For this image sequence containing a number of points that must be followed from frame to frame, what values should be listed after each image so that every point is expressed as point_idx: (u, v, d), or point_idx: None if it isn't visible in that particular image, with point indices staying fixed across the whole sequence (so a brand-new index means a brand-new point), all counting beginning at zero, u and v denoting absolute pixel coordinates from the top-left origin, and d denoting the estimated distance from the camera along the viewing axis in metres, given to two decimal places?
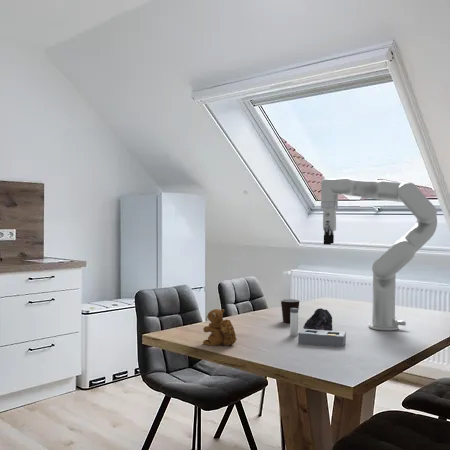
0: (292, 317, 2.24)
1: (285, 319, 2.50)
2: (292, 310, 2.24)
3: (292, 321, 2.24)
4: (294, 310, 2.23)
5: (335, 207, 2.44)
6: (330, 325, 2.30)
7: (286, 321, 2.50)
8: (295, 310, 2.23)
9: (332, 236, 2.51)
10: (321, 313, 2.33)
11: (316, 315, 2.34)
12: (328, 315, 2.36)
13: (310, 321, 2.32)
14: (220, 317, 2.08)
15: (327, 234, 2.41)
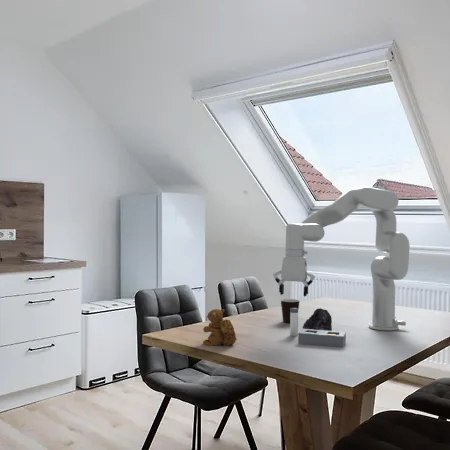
0: (292, 317, 2.24)
1: (285, 319, 2.50)
2: (292, 310, 2.24)
3: (292, 321, 2.24)
4: (294, 310, 2.23)
5: None
6: (329, 325, 2.30)
7: (286, 321, 2.50)
8: (295, 310, 2.23)
9: (283, 286, 2.27)
10: (320, 313, 2.33)
11: (315, 315, 2.34)
12: (327, 315, 2.36)
13: (309, 321, 2.32)
14: (220, 317, 2.08)
15: None
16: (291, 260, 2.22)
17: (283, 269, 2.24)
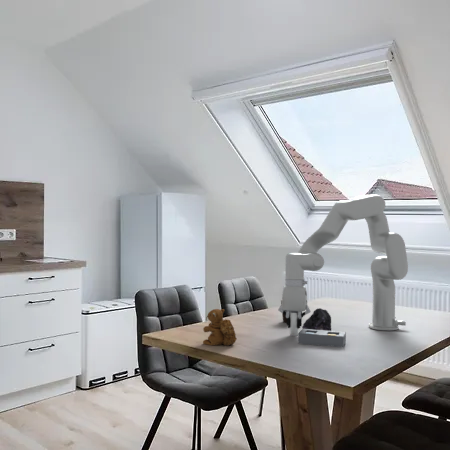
0: (292, 317, 2.24)
1: (285, 319, 2.50)
2: None
3: (292, 321, 2.24)
4: None
5: None
6: (329, 325, 2.30)
7: (286, 321, 2.50)
8: None
9: None
10: (320, 313, 2.33)
11: (315, 315, 2.34)
12: (327, 315, 2.35)
13: (309, 321, 2.32)
14: (220, 317, 2.08)
15: (301, 318, 2.24)
16: (291, 290, 2.23)
17: (283, 299, 2.24)
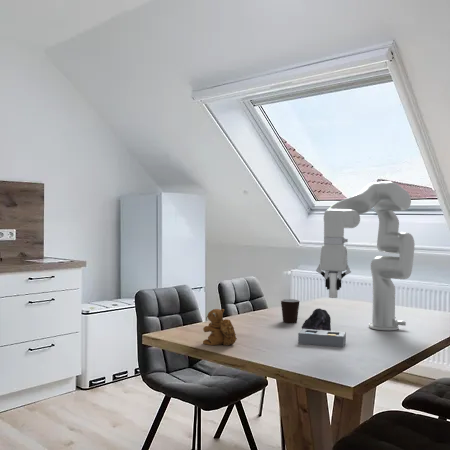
0: (332, 278, 2.09)
1: (285, 319, 2.50)
2: None
3: (331, 282, 2.09)
4: None
5: None
6: (328, 325, 2.30)
7: (286, 321, 2.50)
8: None
9: None
10: (319, 313, 2.33)
11: (314, 315, 2.34)
12: (326, 315, 2.35)
13: (308, 321, 2.32)
14: (220, 317, 2.09)
15: None
16: (330, 248, 2.08)
17: (322, 258, 2.09)
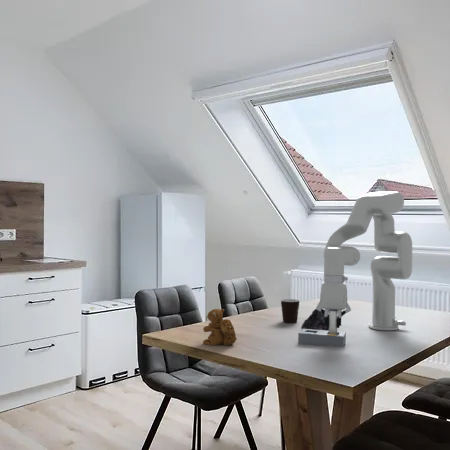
0: (332, 316, 2.09)
1: (285, 319, 2.50)
2: None
3: (331, 320, 2.09)
4: None
5: None
6: None
7: (286, 321, 2.50)
8: None
9: None
10: (319, 313, 2.32)
11: (314, 315, 2.34)
12: None
13: (308, 321, 2.32)
14: (220, 317, 2.09)
15: None
16: (330, 286, 2.08)
17: (322, 296, 2.09)
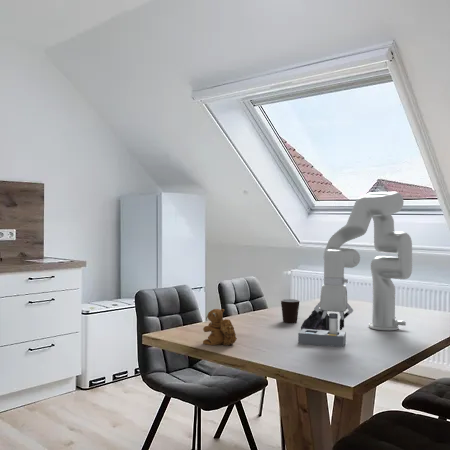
0: (332, 323, 2.09)
1: (285, 319, 2.50)
2: (331, 316, 2.09)
3: (331, 327, 2.09)
4: (333, 316, 2.09)
5: None
6: (328, 325, 2.30)
7: (286, 321, 2.50)
8: (334, 316, 2.09)
9: None
10: None
11: (313, 315, 2.34)
12: None
13: (307, 321, 2.32)
14: (220, 317, 2.09)
15: (344, 318, 2.09)
16: (330, 289, 2.08)
17: (322, 299, 2.10)
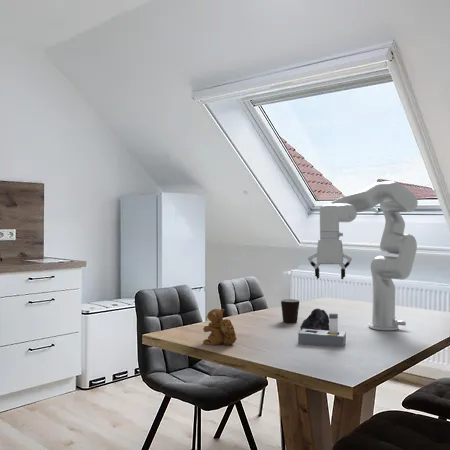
0: (332, 323, 2.09)
1: (285, 319, 2.50)
2: (331, 316, 2.09)
3: (331, 327, 2.09)
4: (333, 316, 2.09)
5: None
6: (327, 325, 2.29)
7: (286, 321, 2.50)
8: (335, 316, 2.09)
9: None
10: (318, 313, 2.32)
11: (313, 315, 2.34)
12: (325, 315, 2.35)
13: (307, 321, 2.32)
14: (220, 317, 2.09)
15: None
16: (327, 242, 2.16)
17: (319, 252, 2.17)
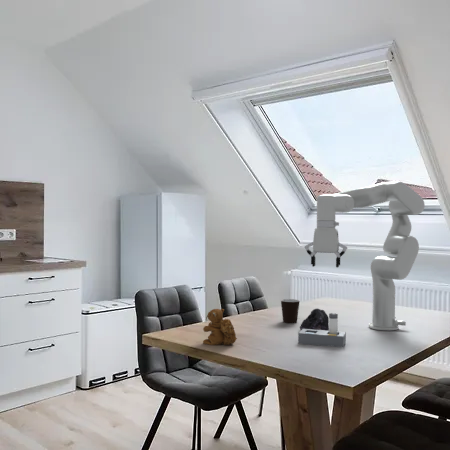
0: (332, 323, 2.09)
1: (285, 319, 2.50)
2: (331, 316, 2.09)
3: (331, 327, 2.09)
4: (333, 316, 2.09)
5: None
6: (327, 325, 2.29)
7: (286, 321, 2.50)
8: (334, 316, 2.09)
9: None
10: (317, 313, 2.32)
11: (312, 315, 2.34)
12: (324, 315, 2.35)
13: (306, 321, 2.32)
14: (220, 317, 2.09)
15: None
16: (323, 231, 2.22)
17: (315, 241, 2.24)
